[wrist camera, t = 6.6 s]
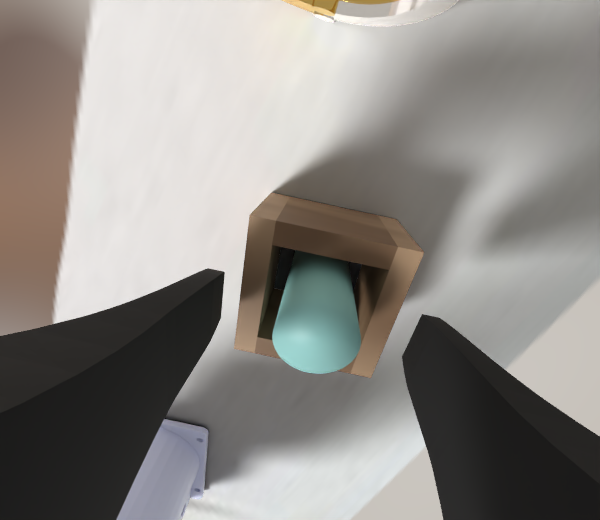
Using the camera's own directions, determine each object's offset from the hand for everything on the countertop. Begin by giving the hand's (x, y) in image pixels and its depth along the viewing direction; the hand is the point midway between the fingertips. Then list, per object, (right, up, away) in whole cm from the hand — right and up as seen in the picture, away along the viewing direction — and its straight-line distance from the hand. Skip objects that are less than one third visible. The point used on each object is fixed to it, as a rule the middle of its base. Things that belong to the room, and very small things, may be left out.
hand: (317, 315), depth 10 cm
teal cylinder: (0, +2, +4) cm, 5 cm away
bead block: (0, +2, +4) cm, 5 cm away
